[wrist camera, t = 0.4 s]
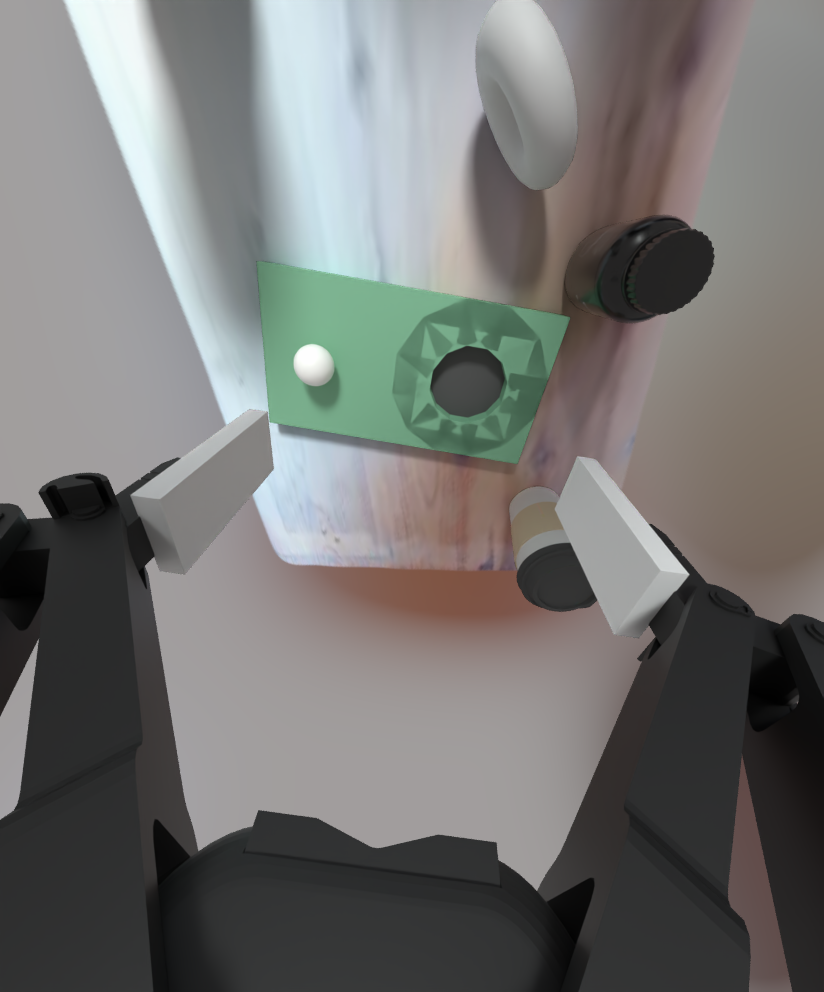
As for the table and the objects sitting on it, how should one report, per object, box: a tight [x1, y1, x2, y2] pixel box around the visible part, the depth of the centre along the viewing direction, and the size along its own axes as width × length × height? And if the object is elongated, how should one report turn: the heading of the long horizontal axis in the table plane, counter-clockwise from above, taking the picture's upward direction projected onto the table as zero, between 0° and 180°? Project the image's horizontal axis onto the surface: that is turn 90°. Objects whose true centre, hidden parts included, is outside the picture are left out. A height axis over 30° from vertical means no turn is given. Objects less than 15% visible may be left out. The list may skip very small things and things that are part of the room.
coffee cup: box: [509, 486, 597, 612], centre depth 41 cm, size 9×9×15 cm
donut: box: [475, 0, 578, 190], centre depth 24 cm, size 10×3×10 cm, turn 36°
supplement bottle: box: [565, 215, 714, 323], centre depth 28 cm, size 7×7×12 cm
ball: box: [294, 344, 334, 386], centre depth 35 cm, size 4×4×4 cm
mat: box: [256, 261, 570, 464], centre depth 38 cm, size 16×30×2 cm, turn 81°
